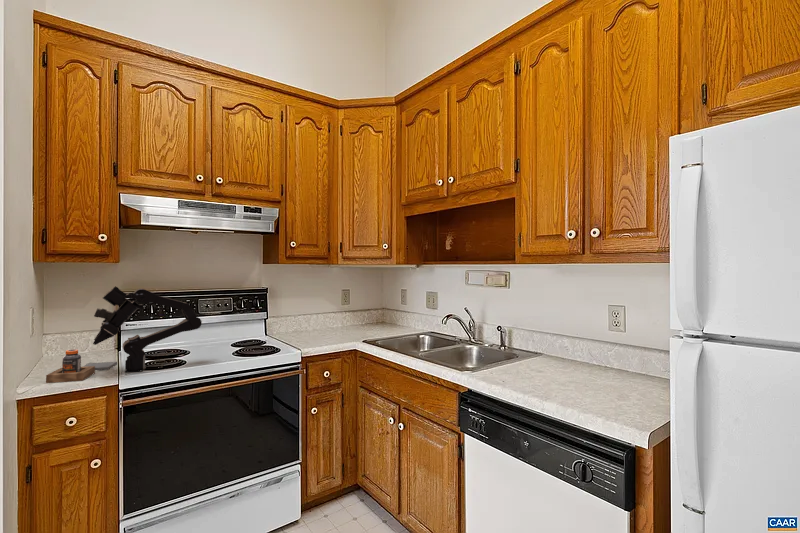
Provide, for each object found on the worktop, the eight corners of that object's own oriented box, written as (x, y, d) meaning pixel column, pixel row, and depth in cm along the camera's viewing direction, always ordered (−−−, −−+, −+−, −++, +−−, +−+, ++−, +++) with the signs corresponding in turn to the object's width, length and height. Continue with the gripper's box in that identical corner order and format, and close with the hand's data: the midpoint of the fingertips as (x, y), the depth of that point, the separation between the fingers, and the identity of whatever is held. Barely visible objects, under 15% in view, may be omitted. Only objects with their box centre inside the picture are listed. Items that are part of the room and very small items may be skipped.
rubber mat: (117, 364, 191) (117, 361, 191) (108, 369, 180) (108, 367, 180) (89, 365, 187) (89, 363, 187) (78, 371, 177) (78, 368, 177)
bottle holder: (94, 373, 175) (94, 366, 175) (82, 380, 163) (82, 373, 163) (60, 375, 171) (60, 367, 171) (46, 382, 160) (46, 375, 160)
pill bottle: (58, 380, 164) (59, 351, 164) (66, 376, 169) (67, 348, 169) (76, 379, 165) (76, 351, 165) (83, 375, 171) (83, 348, 171)
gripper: (107, 299, 182) (78, 327, 176) (106, 303, 167) (74, 334, 161) (130, 314, 187) (102, 342, 181) (130, 319, 171) (100, 350, 166)
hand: (94, 342), depth 172 cm, fingers open, 9 cm apart
